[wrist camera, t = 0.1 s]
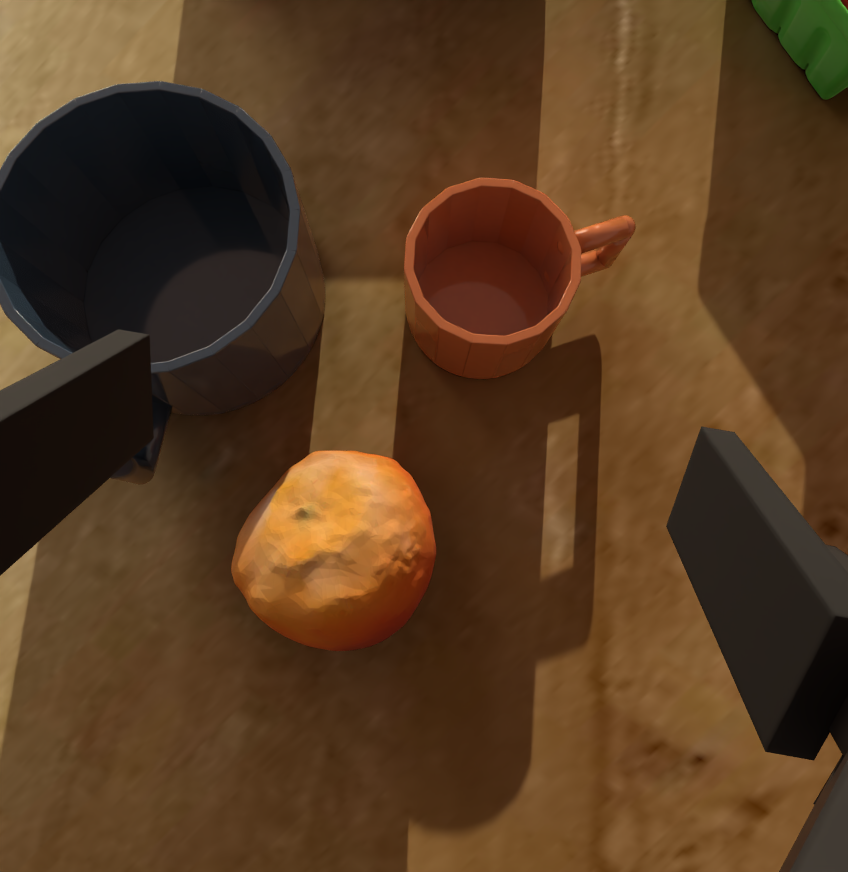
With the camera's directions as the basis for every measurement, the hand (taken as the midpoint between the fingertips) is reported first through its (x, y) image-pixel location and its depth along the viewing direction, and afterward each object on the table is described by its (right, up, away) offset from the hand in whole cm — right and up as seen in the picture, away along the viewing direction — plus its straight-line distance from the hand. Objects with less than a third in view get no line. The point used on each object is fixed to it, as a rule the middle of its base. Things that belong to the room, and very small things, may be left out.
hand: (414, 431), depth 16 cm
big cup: (-11, +5, +16) cm, 20 cm away
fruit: (-3, -5, +15) cm, 16 cm away
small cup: (+4, +7, +17) cm, 18 cm away
